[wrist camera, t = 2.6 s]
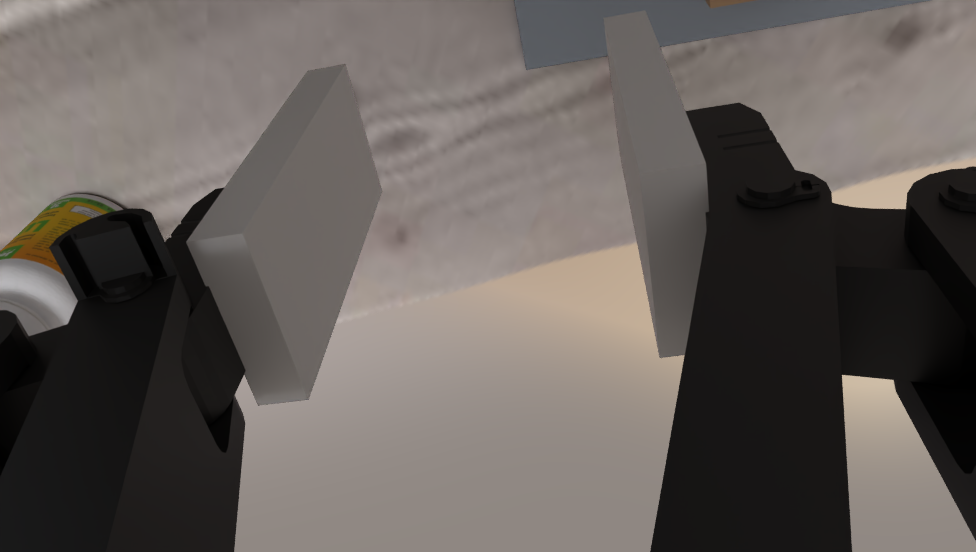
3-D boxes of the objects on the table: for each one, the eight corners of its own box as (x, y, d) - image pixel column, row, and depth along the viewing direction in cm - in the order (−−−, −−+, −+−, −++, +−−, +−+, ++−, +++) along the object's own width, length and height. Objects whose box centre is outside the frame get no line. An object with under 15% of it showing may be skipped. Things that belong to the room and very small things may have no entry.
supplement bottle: (68, 170, 41) (-51, 277, 33) (168, 232, 42) (78, 349, 34) (27, 244, 43) (-94, 361, 35) (122, 300, 45) (29, 424, 37)
